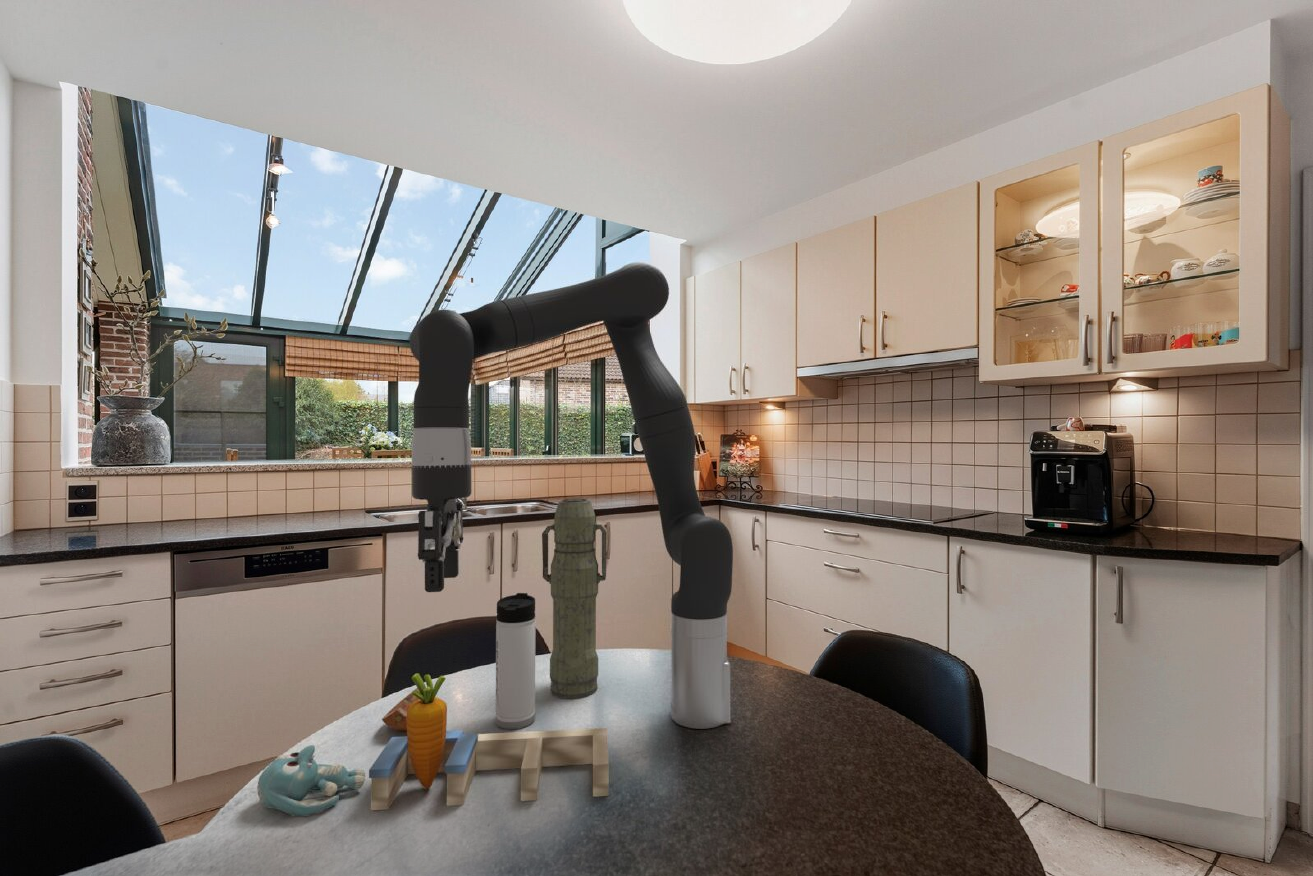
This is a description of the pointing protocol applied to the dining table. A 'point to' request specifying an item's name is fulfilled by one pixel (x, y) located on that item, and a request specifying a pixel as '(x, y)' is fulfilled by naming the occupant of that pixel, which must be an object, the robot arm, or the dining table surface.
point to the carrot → (426, 729)
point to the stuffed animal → (304, 783)
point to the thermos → (574, 597)
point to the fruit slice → (400, 713)
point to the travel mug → (515, 661)
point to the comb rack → (494, 761)
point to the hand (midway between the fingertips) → (442, 584)
